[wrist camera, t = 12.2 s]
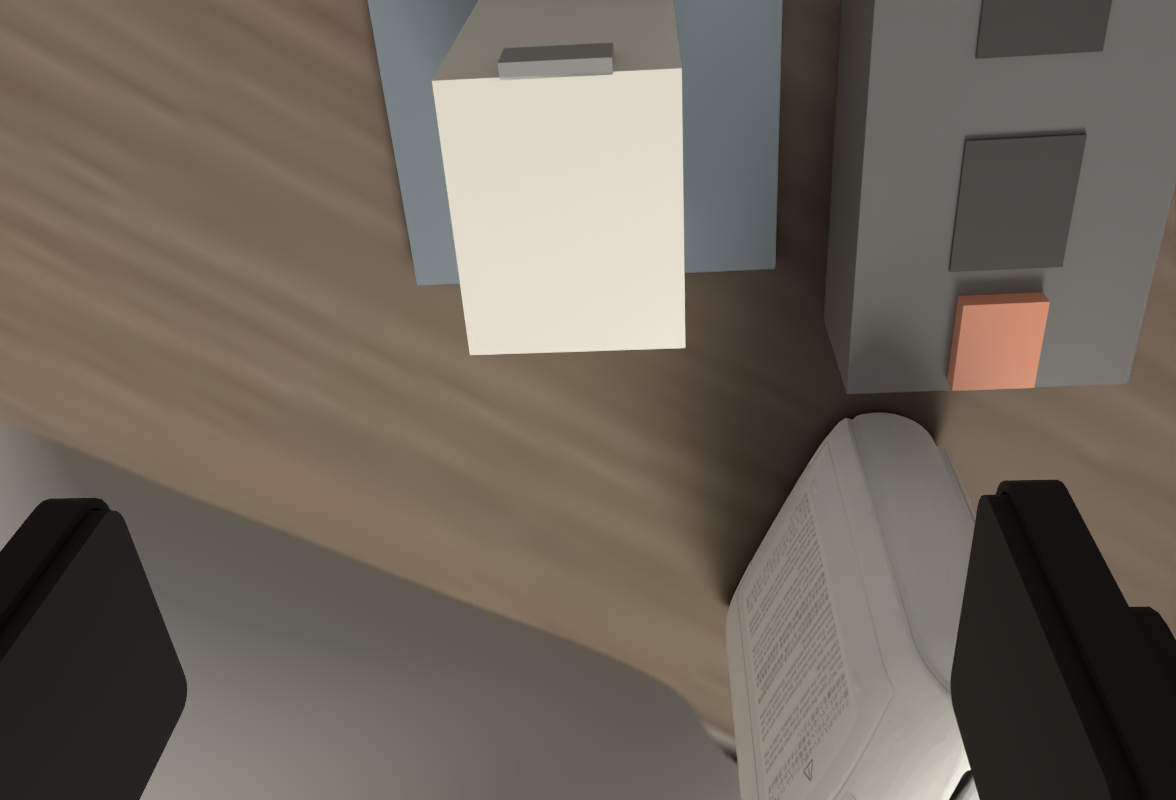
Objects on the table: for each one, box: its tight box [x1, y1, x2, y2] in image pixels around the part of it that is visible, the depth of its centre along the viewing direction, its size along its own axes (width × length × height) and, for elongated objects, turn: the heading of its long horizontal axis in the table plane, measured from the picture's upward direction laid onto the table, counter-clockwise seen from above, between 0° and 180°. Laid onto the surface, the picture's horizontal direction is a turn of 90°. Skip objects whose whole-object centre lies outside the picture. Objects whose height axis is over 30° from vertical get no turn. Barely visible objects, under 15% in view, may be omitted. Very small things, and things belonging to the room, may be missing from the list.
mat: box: [368, 0, 783, 285], centre depth 27 cm, size 10×10×1 cm
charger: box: [432, 0, 685, 355], centre depth 23 cm, size 4×6×8 cm
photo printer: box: [725, 413, 980, 800], centre depth 30 cm, size 10×4×12 cm, turn 161°
